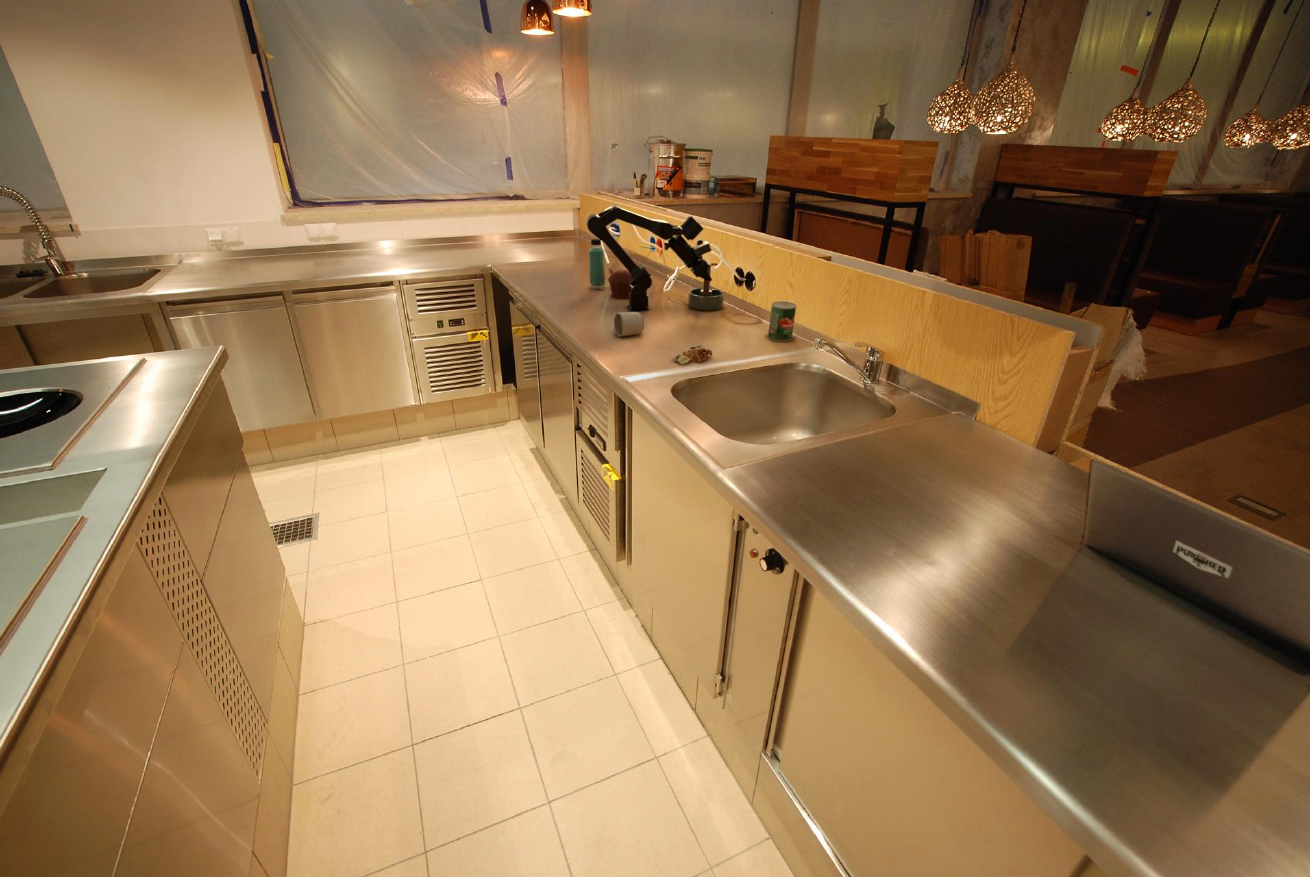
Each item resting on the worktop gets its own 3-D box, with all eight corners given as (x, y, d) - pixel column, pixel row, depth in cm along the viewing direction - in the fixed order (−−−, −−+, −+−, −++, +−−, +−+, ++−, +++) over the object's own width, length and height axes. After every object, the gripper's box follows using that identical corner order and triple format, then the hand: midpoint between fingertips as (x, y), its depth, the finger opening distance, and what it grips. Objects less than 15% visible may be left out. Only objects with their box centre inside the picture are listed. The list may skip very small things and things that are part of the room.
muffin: (632, 291, 239) (632, 267, 234) (640, 298, 230) (640, 273, 225) (605, 293, 236) (604, 268, 231) (611, 300, 227) (611, 274, 222)
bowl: (695, 312, 214) (696, 297, 211) (683, 303, 225) (684, 289, 222) (728, 310, 217) (729, 295, 215) (714, 301, 228) (715, 287, 226)
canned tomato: (787, 343, 185) (791, 309, 180) (764, 338, 188) (767, 305, 183) (795, 336, 191) (800, 304, 185) (773, 332, 194) (777, 300, 189)
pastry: (670, 360, 169) (670, 348, 168) (697, 351, 177) (698, 340, 175) (687, 367, 165) (688, 355, 163) (715, 357, 172) (715, 346, 171)
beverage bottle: (603, 290, 240) (601, 240, 231) (587, 289, 241) (585, 239, 232) (607, 286, 246) (606, 238, 236) (592, 285, 247) (590, 237, 237)
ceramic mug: (645, 336, 189) (645, 313, 185) (623, 339, 185) (622, 316, 181) (631, 327, 197) (630, 305, 193) (609, 330, 193) (608, 308, 190)
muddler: (710, 300, 217) (713, 265, 211) (699, 299, 218) (701, 264, 212) (712, 297, 221) (714, 263, 215) (700, 296, 222) (702, 262, 216)
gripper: (705, 237, 199) (732, 269, 206) (693, 229, 216) (719, 259, 223) (681, 261, 202) (710, 292, 209) (672, 251, 218) (698, 280, 225)
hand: (710, 279), depth 216 cm, fingers closed on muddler, 2 cm apart
